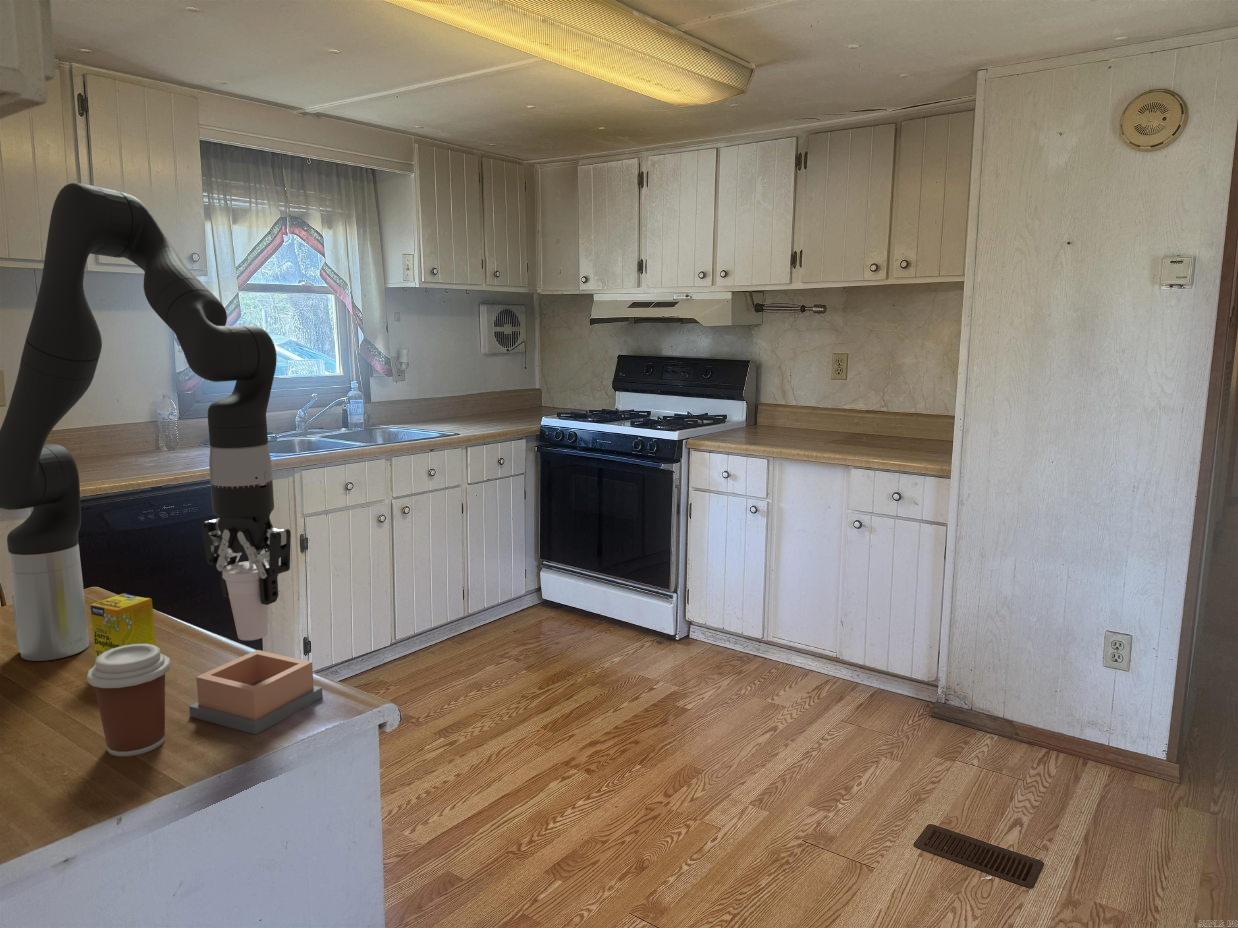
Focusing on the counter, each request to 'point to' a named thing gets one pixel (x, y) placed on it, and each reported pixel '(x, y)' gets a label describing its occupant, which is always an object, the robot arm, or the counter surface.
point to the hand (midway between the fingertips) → (250, 598)
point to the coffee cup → (131, 697)
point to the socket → (255, 691)
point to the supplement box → (122, 622)
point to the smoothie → (246, 600)
